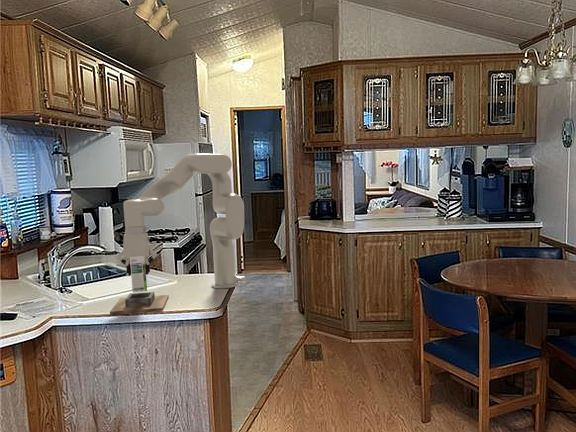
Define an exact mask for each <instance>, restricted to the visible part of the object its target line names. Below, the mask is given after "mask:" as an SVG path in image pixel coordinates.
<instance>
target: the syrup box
mask: <svg viewBox="0 0 576 432" xmlns="http://www.w3.org/2000/svg"><path fill="white" fill-rule="evenodd" d="M145 265H146V262H145V257H144V256H130V266H131V275H130V277H131V288H132V293H142V292H148V285H147V283H148V281H147V275H146V269H145Z"/></svg>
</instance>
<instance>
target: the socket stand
mask: <svg viewBox="0 0 576 432" xmlns="http://www.w3.org/2000/svg"><path fill="white" fill-rule="evenodd" d="M169 297H170V295H169V294H162V295H155V291H143V292H131V293H129V294H128V295H127V297H120V298H119V300H118V301H117V302H116V303H115V305H114V306H113V307H112V308H111V309H110V310H109V315H110V316H111V315H112V316H113V315H114V316H115V315H124V314H125V315H126V314H138V313H139V314H140V313H150V312H163V311H164V309H165V307H166V305H167V303H168V300H169Z"/></svg>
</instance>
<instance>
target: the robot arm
mask: <svg viewBox="0 0 576 432" xmlns="http://www.w3.org/2000/svg"><path fill="white" fill-rule="evenodd" d="M232 165H233V163H232V160H231V158H230V156H228V155H227V154H223V153H188V154H185V155H184V156H183V157H181V159H179V161H178V162H177V163H176V164H175V165H174V166H173V167H172V168H171V170H169V172H168V173H167V174H165V176H163V177H161V178H159V180H157V181H156V182H155V183H153V184H152V185H150V186H149V187H148V188H147V189H146V190H144V191H143V193H142V194H141V195H140V196H139V197H138V198H136V199H127V200H124V201H123V217H124V228H125V233H124V234H123V241H122V242H123V243H122V244H123V245H122V249H123V250H122V251H121V252H120V253H119V254H118V255H117V257H116V258H117V259H118V260H119V261H120V262H121V263H122V264H123V265H124V266H125V269H126V274H127V275H128V277H131V266H130V256H144V257H145V269H146V276H147V275H149V274H150V272H151V268H150V267H151V266H150V264H151V263H152V262H153V261H154V259H155V258H156V257H157V256H158V253H157V252H155V251H154V250H153V249H152V248H151V245H150V244H151V243H150V238H149V234H148V232H146V231H149V230H150V228H149V226H146V224H145V217H158V216H160V215H162V214H163V212H164V210H165V204H164V202H163V201H162V199H164V198H165V197H167V196H169V195H172V194H175V193H177V192H179V191H181V190H182V189H183V188H184V186H186V184H187V183H188V182H189V181H190V180H191V179H192V178H193V177H194V176H195V175H196V174H205V175H207V176H208V177H209V178H210V181H211V183H212V209H213V211H214V212H215V213H216V214H220V215H225V216H218V217H215V218H213V219H212V220H211V222H210V223H209V234H210V239H211V242H212V243H211V244H212V256H213V259H212V260H213V272H214V273H213V275H214V282H212V283H211V287H212V288H213V289H231V288H235V287H237V286H239V285H240V282H245V281H246V276H243V275H242V276H238V275H237V274H236V265H235V248H234V242H233V240H238V239H240V238H241V237H242V235H243V234H244V230H245V204H244V200H243V198H242V197H241V196H240V195H239V194H237V193H233V192H232V190H233V189H232V180H231V176H230V175H229V171H231V169H232ZM151 255H152V256H151ZM150 256H151V257H150ZM149 257H150V258H149Z"/></svg>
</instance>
